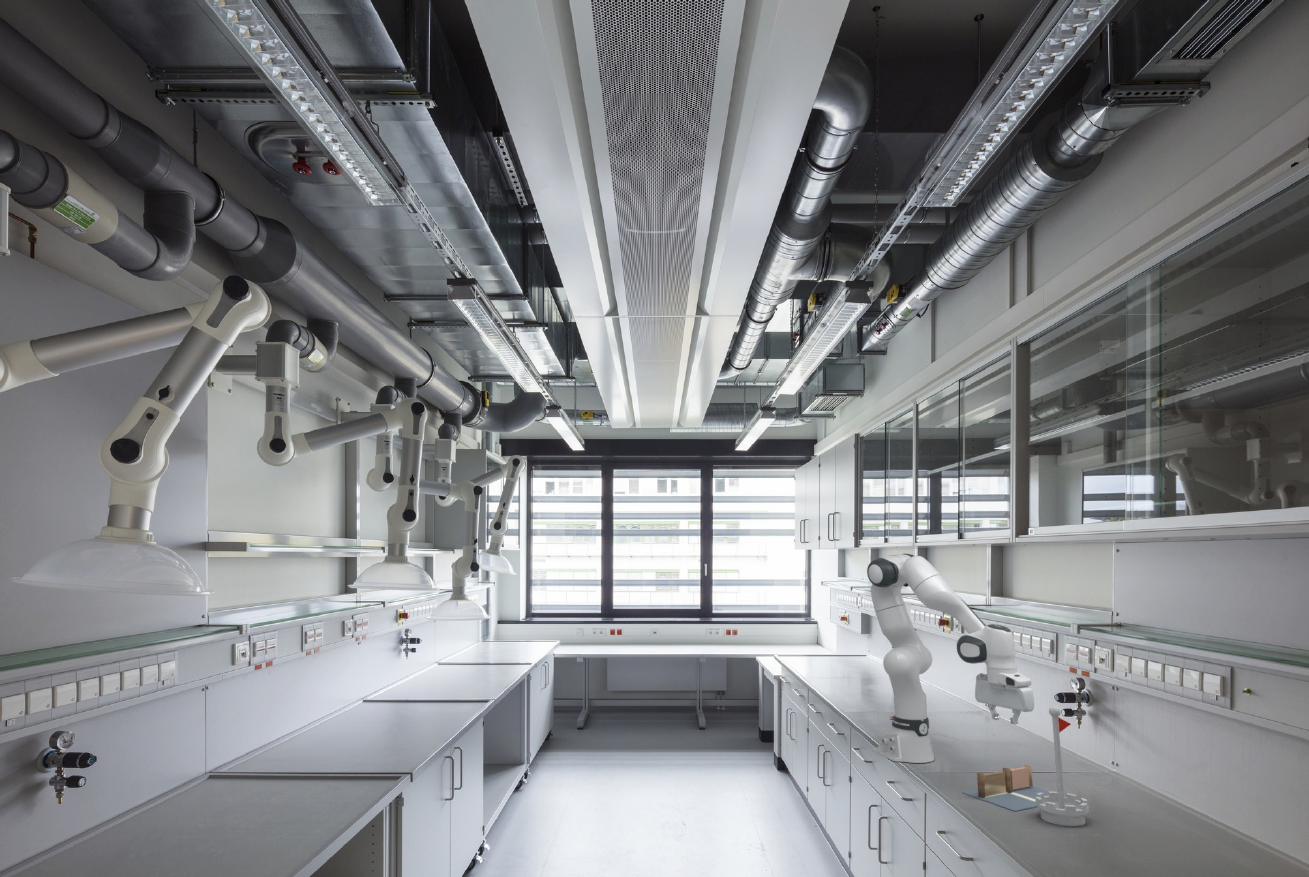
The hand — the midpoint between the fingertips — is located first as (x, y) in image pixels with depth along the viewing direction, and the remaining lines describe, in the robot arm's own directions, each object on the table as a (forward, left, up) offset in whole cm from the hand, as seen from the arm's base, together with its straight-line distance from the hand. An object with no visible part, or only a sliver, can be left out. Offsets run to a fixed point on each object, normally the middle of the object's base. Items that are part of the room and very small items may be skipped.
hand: (1004, 721), depth 250 cm
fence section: (+6, -1, -18) cm, 19 cm away
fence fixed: (+6, -12, -19) cm, 23 cm away
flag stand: (+28, -13, -20) cm, 37 cm away
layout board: (+9, -8, -19) cm, 23 cm away
